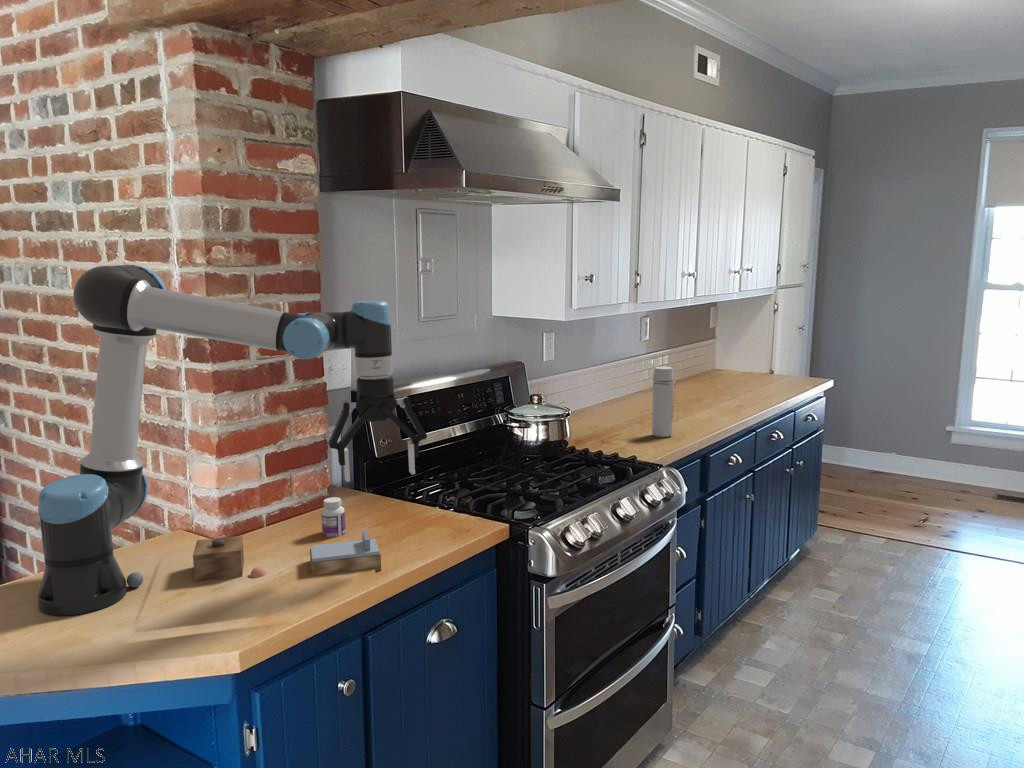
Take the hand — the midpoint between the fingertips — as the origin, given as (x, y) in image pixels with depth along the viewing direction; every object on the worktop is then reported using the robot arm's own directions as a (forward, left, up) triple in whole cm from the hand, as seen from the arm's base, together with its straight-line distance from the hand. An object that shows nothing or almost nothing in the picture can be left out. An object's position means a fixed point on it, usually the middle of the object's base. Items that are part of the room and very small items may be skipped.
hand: (380, 476), depth 166 cm
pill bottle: (-9, +20, -20) cm, 30 cm away
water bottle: (+114, +93, -20) cm, 148 cm away
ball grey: (-49, +4, -18) cm, 53 cm away
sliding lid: (-8, 0, -16) cm, 17 cm away
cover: (-33, +4, -20) cm, 39 cm away
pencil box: (-8, 0, -20) cm, 21 cm away
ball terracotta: (-25, -1, -18) cm, 31 cm away
